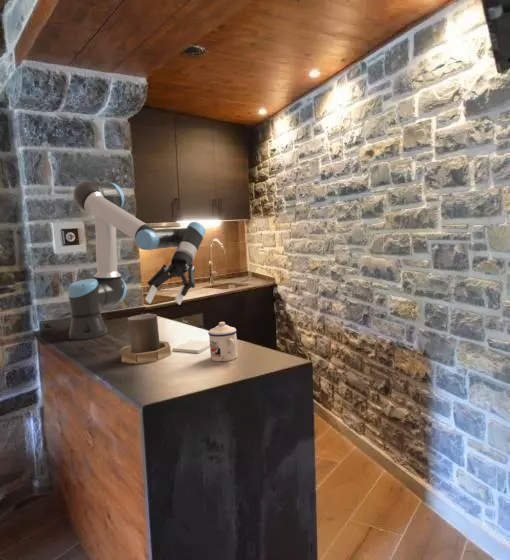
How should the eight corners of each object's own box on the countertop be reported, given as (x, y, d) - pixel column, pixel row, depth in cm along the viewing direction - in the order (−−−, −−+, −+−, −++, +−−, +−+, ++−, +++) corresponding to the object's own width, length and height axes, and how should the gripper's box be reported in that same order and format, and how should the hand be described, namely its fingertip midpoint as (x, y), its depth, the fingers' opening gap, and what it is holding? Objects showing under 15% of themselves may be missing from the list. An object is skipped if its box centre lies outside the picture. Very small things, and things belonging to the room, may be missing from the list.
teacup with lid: (205, 357, 141) (202, 322, 140) (230, 351, 146) (227, 317, 144) (222, 366, 131) (219, 328, 129) (248, 360, 136) (245, 323, 134)
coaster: (172, 350, 151) (172, 348, 151) (191, 342, 161) (191, 340, 161) (198, 353, 146) (198, 350, 146) (216, 344, 156) (216, 341, 156)
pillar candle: (162, 357, 144) (158, 313, 143) (132, 362, 141) (128, 316, 140) (158, 350, 154) (154, 308, 152) (130, 354, 150) (126, 312, 149)
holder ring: (111, 360, 144) (110, 352, 144) (144, 347, 158) (143, 339, 158) (148, 365, 137) (147, 356, 136) (179, 351, 151) (178, 342, 150)
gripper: (215, 261, 163) (195, 308, 152) (163, 263, 175) (141, 307, 163) (206, 248, 158) (185, 296, 146) (153, 251, 169) (129, 295, 158)
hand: (162, 302), depth 155 cm, fingers open, 13 cm apart
